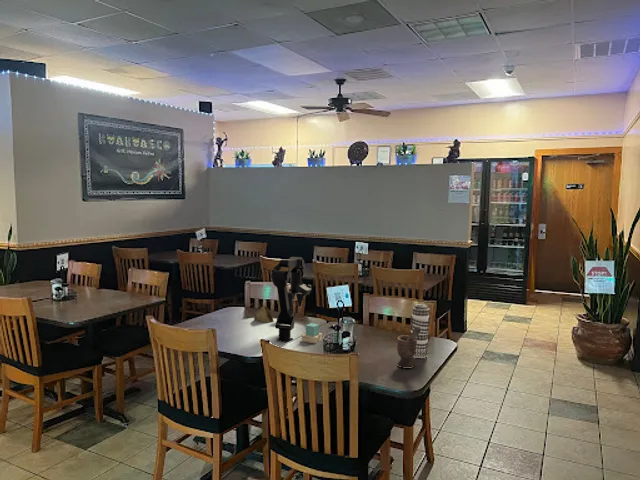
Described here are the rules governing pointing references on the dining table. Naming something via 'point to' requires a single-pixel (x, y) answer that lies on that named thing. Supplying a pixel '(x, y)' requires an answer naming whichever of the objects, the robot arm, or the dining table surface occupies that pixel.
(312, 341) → the beech block
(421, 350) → the decorative candle
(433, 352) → the dining table surface
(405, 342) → the mortar and pestle
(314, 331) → the teal cube
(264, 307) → the rock
